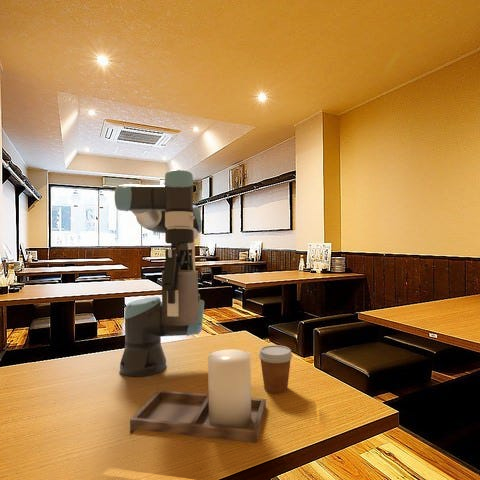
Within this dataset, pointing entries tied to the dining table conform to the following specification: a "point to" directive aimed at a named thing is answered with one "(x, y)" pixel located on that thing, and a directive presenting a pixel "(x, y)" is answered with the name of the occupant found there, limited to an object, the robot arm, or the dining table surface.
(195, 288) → the pillar candle
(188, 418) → the candle tray
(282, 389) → the disposable coffee cup
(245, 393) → the ivory candle
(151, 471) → the dining table surface
